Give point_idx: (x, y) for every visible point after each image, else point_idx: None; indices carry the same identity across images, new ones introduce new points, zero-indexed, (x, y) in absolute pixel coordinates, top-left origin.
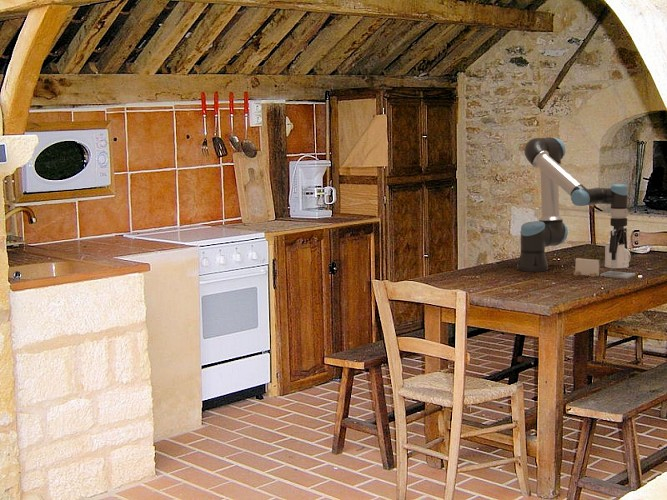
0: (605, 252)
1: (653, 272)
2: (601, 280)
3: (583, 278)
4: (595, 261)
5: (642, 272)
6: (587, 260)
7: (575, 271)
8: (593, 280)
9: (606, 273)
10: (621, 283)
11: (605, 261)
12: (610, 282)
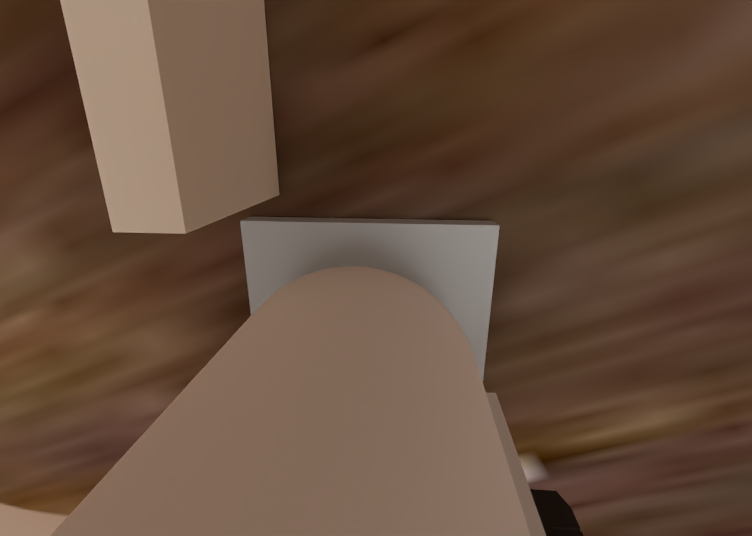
0: (190, 395)
1: (702, 522)
2: (67, 312)
3: (33, 126)
4: (117, 190)
5: (672, 457)
6: (76, 15)
7: None
8: (16, 256)
9: (322, 261)
10: (66, 466)
11: (260, 309)
12: (43, 397)
